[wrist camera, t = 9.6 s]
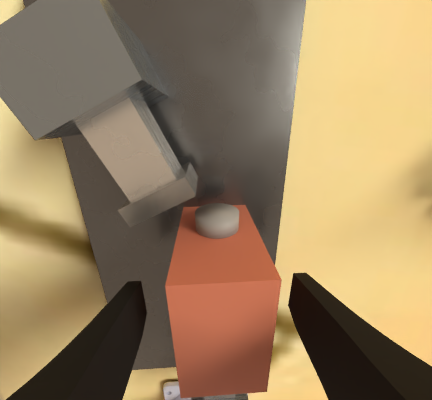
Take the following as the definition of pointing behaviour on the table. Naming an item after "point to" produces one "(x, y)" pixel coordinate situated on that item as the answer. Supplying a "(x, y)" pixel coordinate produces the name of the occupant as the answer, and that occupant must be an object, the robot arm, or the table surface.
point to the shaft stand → (158, 122)
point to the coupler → (221, 302)
